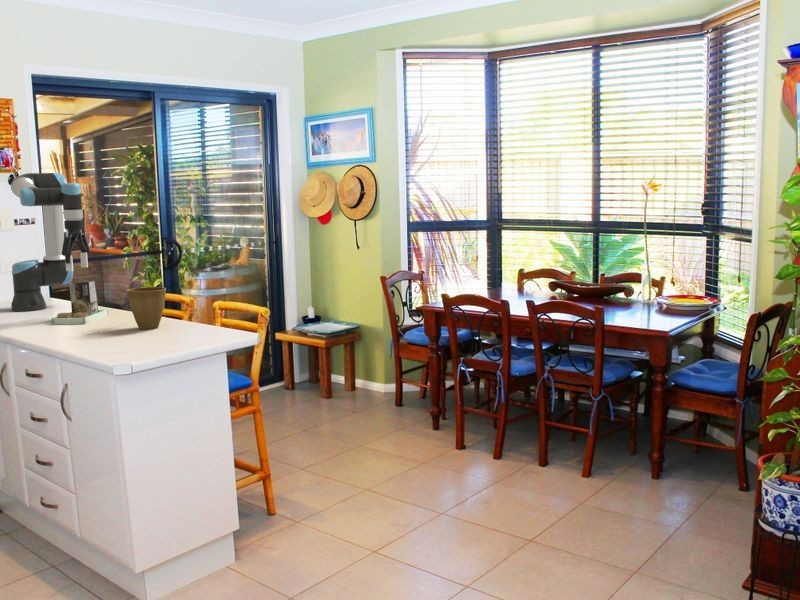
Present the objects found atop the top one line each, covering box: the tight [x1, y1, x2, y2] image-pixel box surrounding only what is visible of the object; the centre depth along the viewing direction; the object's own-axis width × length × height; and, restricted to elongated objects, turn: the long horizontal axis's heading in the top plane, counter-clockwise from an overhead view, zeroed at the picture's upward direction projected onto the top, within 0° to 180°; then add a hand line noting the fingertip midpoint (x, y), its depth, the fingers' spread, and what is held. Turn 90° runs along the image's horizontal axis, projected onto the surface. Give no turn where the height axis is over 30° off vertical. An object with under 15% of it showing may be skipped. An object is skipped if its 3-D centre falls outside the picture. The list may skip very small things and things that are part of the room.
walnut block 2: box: [73, 312, 88, 318], centre depth 316 cm, size 4×4×4 cm
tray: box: [51, 309, 109, 326], centre depth 323 cm, size 22×14×4 cm, turn 177°
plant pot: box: [126, 286, 167, 330], centre depth 305 cm, size 15×15×16 cm
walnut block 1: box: [56, 312, 71, 318], centre depth 316 cm, size 4×4×4 cm
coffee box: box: [68, 280, 99, 318], centre depth 326 cm, size 9×6×16 cm
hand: (77, 269), depth 327 cm, fingers open, 13 cm apart
